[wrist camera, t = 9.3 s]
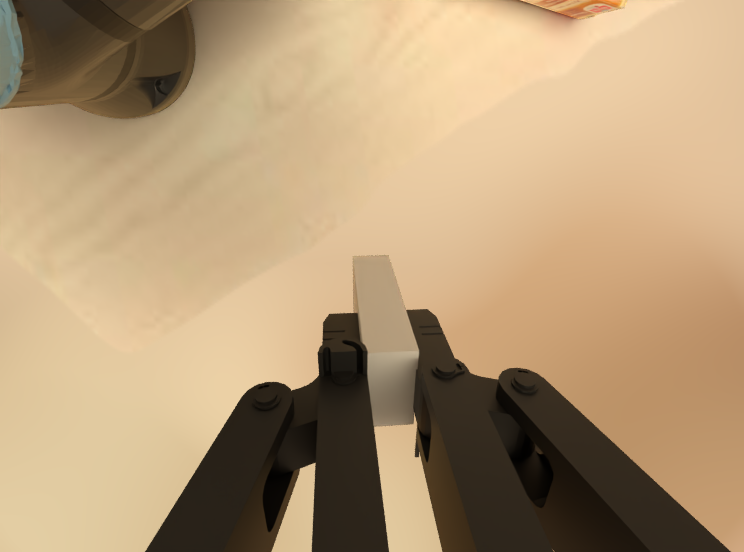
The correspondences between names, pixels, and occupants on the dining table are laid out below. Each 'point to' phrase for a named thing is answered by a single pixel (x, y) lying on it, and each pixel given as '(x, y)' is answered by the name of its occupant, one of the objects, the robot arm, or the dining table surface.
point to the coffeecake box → (579, 6)
